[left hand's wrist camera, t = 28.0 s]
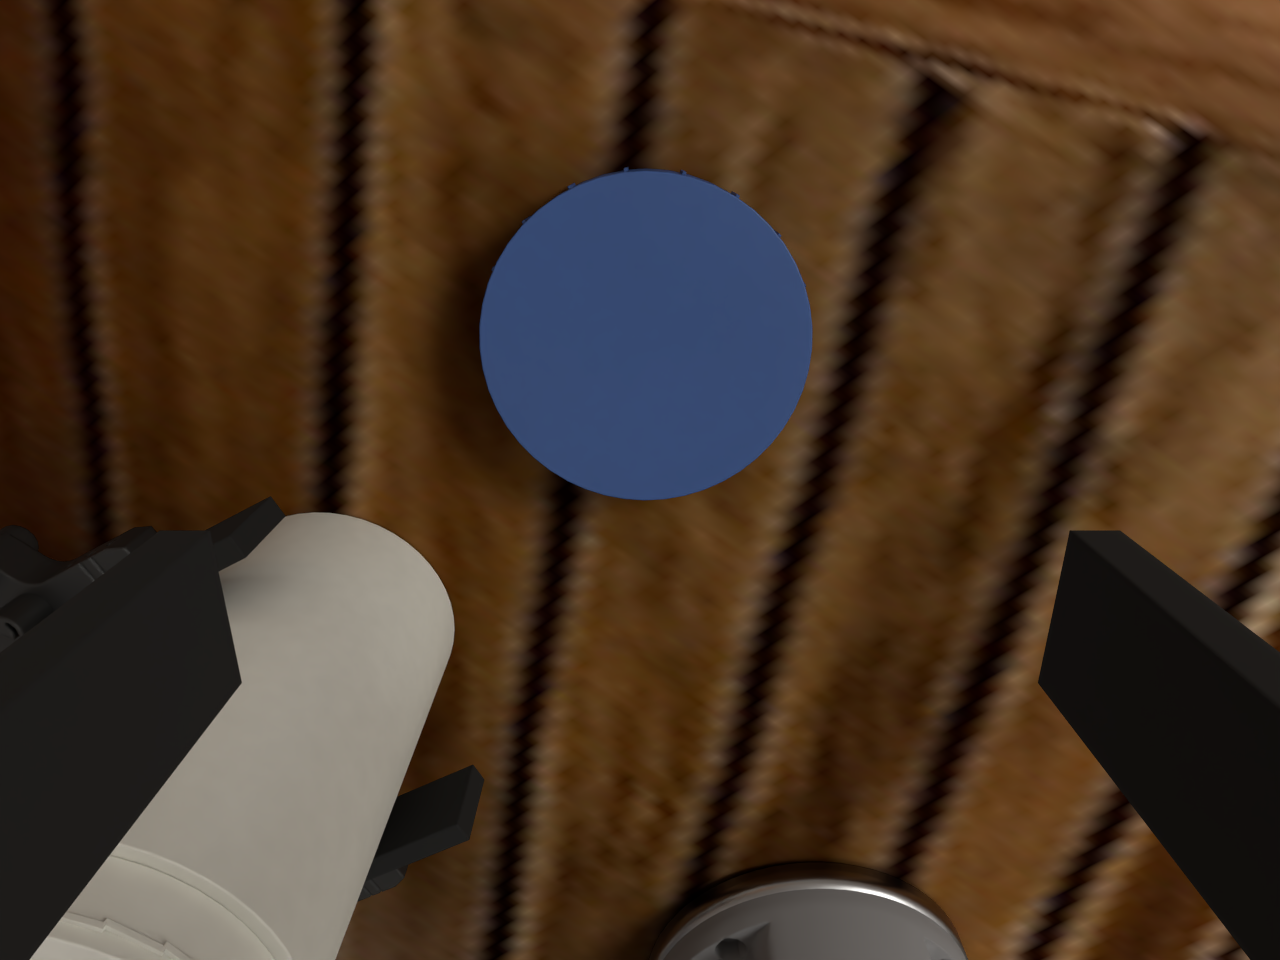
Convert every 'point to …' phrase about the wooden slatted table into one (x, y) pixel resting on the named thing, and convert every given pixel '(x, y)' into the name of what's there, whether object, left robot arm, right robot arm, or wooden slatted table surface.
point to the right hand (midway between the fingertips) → (373, 673)
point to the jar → (281, 759)
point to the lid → (645, 334)
